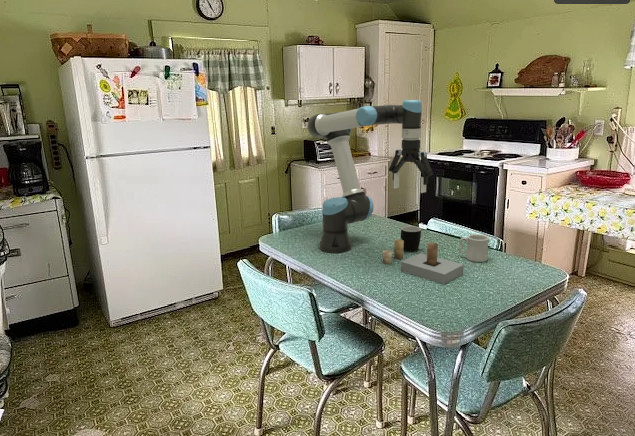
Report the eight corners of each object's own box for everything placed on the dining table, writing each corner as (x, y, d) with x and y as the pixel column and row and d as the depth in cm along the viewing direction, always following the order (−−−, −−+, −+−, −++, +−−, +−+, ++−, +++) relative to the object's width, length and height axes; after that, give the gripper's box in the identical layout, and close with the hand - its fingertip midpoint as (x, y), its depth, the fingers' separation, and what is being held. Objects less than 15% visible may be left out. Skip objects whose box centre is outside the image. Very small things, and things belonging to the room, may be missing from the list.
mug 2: (488, 257, 200) (490, 235, 198) (486, 263, 193) (488, 241, 190) (459, 253, 206) (460, 232, 203) (456, 260, 198) (457, 238, 195)
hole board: (400, 270, 187) (401, 261, 186) (420, 262, 196) (420, 253, 195) (444, 284, 173) (444, 274, 172) (463, 274, 182) (463, 264, 181)
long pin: (424, 272, 185) (425, 244, 182) (429, 270, 187) (431, 242, 184) (432, 275, 182) (434, 246, 179) (438, 272, 184) (439, 244, 181)
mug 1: (424, 251, 210) (425, 229, 207) (408, 254, 206) (408, 232, 204) (408, 243, 220) (409, 223, 218) (393, 246, 217) (393, 226, 214)
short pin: (380, 262, 197) (380, 251, 195) (386, 260, 199) (386, 249, 198) (388, 264, 194) (388, 253, 193) (393, 262, 197) (394, 251, 195)
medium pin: (392, 257, 202) (392, 240, 200) (397, 255, 205) (398, 238, 203) (399, 260, 199) (400, 242, 197) (405, 257, 202) (405, 240, 200)
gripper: (381, 138, 193) (380, 187, 198) (432, 141, 175) (430, 195, 181) (392, 136, 198) (391, 185, 203) (443, 139, 180) (440, 192, 186)
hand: (409, 190), depth 192 cm, fingers open, 13 cm apart
